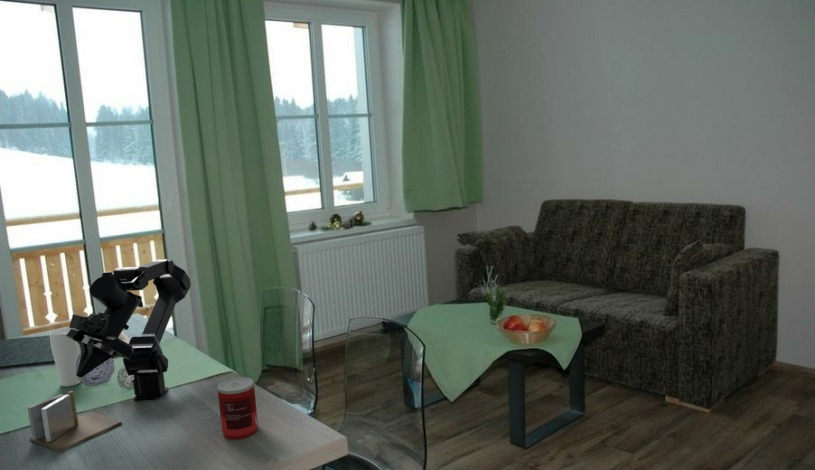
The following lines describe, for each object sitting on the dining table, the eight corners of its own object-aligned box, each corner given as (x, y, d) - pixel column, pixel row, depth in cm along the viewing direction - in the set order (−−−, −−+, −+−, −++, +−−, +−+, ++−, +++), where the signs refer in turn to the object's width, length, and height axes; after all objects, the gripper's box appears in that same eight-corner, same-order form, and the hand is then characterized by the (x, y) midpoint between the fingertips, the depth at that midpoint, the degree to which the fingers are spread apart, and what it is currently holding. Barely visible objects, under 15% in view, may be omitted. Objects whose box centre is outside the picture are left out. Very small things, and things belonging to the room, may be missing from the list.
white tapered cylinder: (73, 388, 172) (65, 334, 169) (51, 388, 173) (43, 334, 171) (90, 379, 178) (82, 327, 176) (69, 378, 180) (61, 326, 177)
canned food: (243, 420, 147) (238, 374, 145) (266, 429, 141) (261, 381, 140) (214, 433, 141) (209, 386, 139) (237, 443, 136) (231, 394, 134)
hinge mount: (91, 414, 155) (86, 380, 153) (121, 424, 148) (116, 388, 147) (30, 440, 143) (24, 403, 141) (59, 452, 136) (53, 414, 135)
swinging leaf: (70, 425, 147) (65, 394, 146) (74, 425, 147) (69, 394, 146) (46, 441, 140) (41, 409, 138) (51, 441, 139) (45, 409, 138)
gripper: (68, 294, 151) (27, 354, 144) (112, 303, 141) (71, 369, 134) (104, 316, 159) (67, 375, 152) (149, 326, 148) (112, 390, 142)
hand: (78, 376), depth 145 cm, fingers closed
